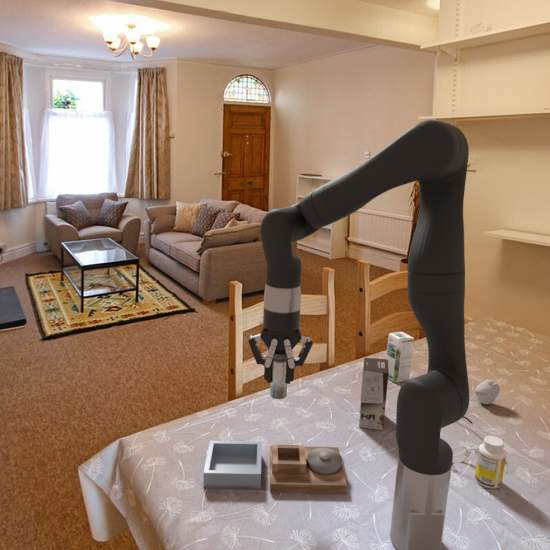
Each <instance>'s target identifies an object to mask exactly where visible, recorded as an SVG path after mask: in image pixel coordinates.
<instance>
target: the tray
mask: <svg viewBox="0 0 550 550" xmlns="http://www.w3.org/2000/svg"><path fill="white" fill-rule="evenodd" d="M262 446H263V441H243V440H242V441H241V440H239V441H235V440H209V444H208V448H207V454H206V458H205V464H204V469H203V488H204V489H206V488H207V489H240V490H242V489H247V490H249V489H251V490H252V489H253V490H256V489H257V490H261V488H262V487H261V485H262V484H261V483H262V454H263V453H262Z"/></svg>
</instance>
